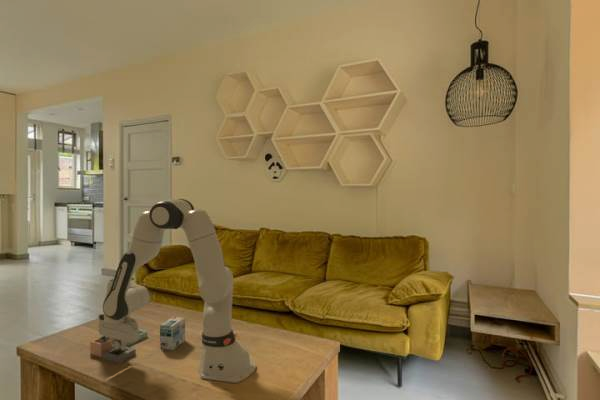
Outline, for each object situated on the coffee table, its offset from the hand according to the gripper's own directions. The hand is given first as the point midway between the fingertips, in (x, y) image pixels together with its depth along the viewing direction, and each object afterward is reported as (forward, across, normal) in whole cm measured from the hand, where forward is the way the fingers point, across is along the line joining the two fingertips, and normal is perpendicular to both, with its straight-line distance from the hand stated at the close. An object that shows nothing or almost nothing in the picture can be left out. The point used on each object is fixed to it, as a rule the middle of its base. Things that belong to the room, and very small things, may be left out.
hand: (118, 348), depth 139 cm
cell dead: (+3, +10, 0) cm, 10 cm away
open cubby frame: (+4, +10, 0) cm, 10 cm away
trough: (+4, +9, -12) cm, 16 cm away
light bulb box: (+4, -11, -19) cm, 22 cm away
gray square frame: (+4, 0, 0) cm, 4 cm away
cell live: (+2, 0, 0) cm, 2 cm away
